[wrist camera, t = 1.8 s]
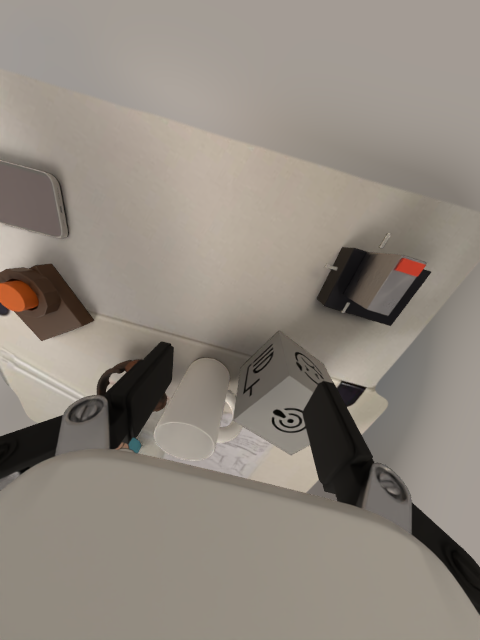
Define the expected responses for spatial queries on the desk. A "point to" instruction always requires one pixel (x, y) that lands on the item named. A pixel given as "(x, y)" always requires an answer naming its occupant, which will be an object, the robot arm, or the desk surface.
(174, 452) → the mug
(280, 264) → the desk surface
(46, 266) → the control block
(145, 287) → the desk surface
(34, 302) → the power button
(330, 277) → the switch panel
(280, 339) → the icon cube
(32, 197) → the smartphone
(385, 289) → the red-banded grey bar
